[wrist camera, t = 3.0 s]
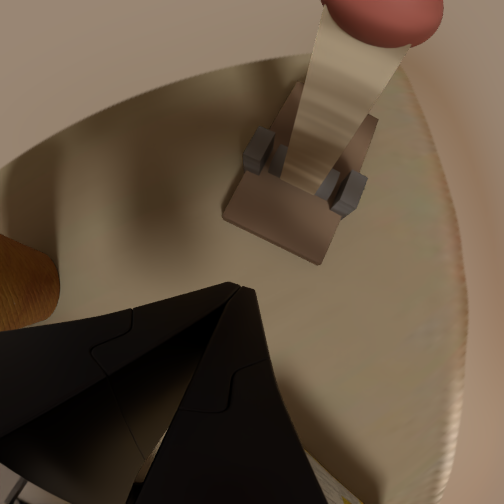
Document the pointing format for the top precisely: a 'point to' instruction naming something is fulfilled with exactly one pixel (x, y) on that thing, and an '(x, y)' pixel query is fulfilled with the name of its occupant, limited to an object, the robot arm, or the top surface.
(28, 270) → the disposable coffee cup
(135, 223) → the top surface
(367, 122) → the base
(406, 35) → the lever
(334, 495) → the candy box
